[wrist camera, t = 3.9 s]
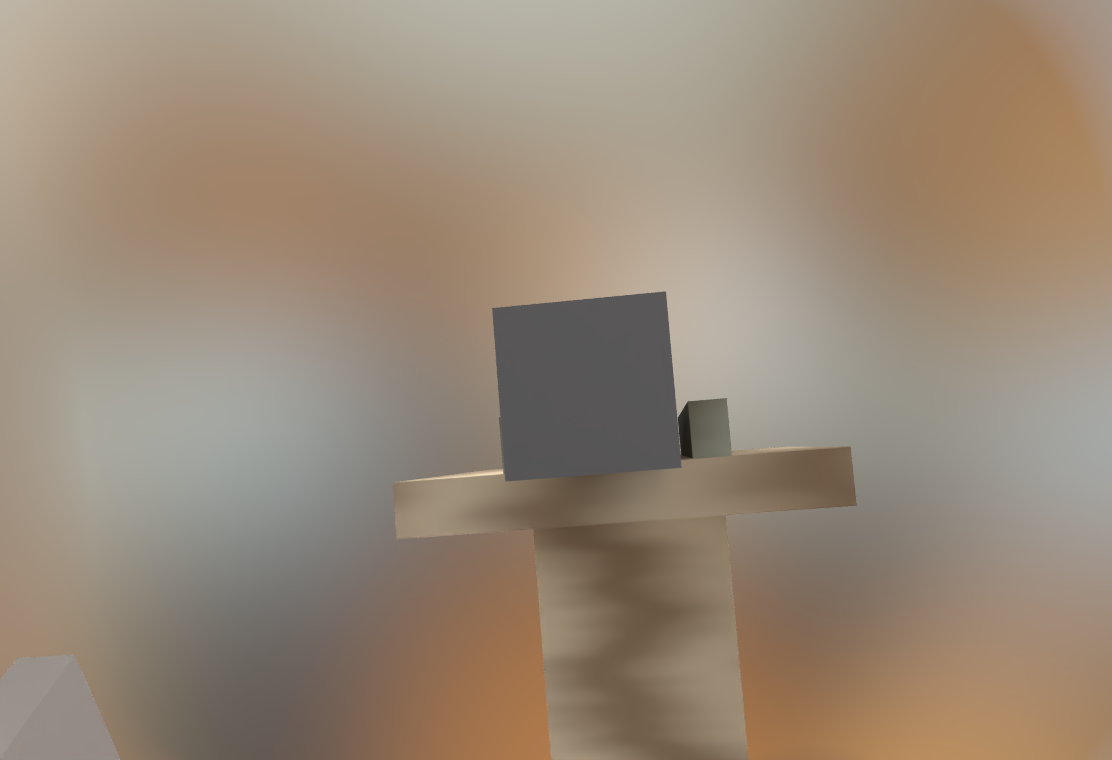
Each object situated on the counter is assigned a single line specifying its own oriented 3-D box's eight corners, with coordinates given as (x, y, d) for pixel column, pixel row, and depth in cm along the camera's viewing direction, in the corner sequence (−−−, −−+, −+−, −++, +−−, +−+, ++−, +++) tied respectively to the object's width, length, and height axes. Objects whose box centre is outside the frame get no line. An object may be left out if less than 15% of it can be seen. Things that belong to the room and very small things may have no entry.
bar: (505, 481, 17) (491, 308, 17) (596, 461, 40) (590, 390, 41) (681, 468, 16) (665, 291, 16) (668, 455, 40) (662, 383, 40)
